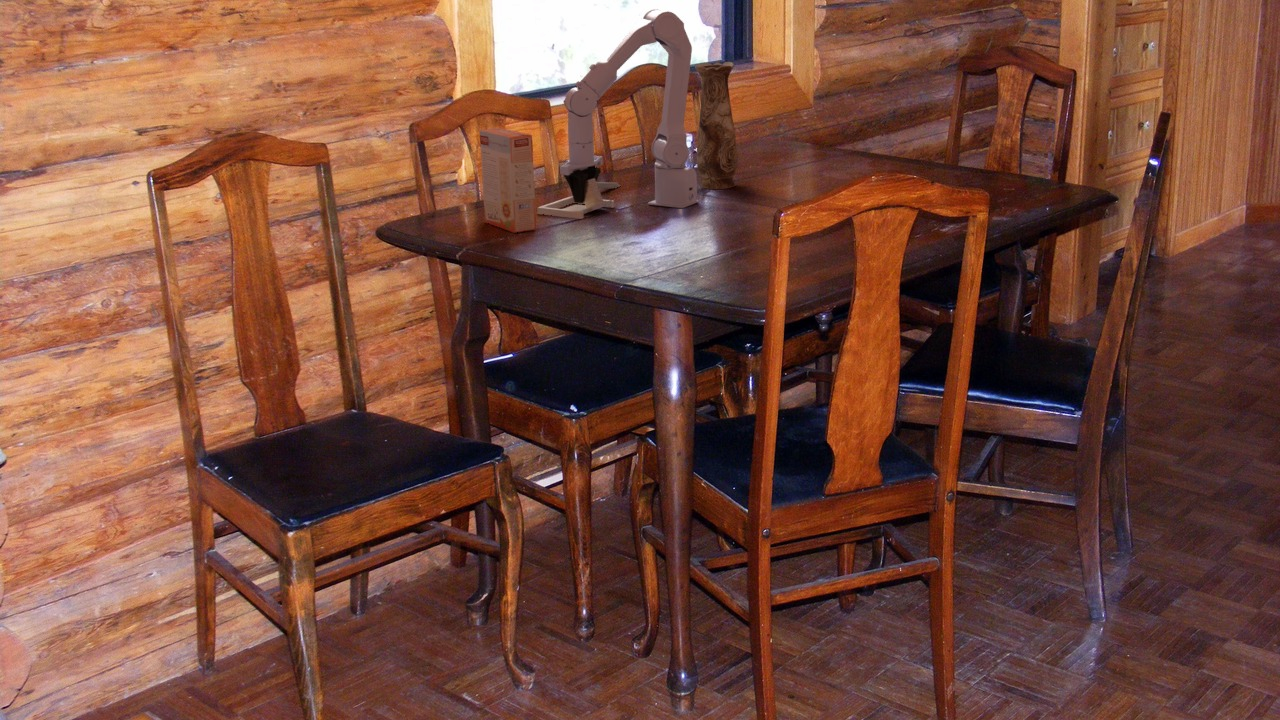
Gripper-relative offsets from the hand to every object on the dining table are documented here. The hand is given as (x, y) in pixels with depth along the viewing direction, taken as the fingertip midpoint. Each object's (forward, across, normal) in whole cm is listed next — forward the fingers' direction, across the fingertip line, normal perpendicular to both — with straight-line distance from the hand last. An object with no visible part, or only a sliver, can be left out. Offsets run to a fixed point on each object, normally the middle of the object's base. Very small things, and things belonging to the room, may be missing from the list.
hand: (583, 201), depth 292 cm
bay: (+2, 0, -2) cm, 3 cm away
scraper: (+2, 0, +4) cm, 4 cm away
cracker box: (+3, +20, -6) cm, 21 cm away
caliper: (+3, -18, -8) cm, 20 cm away
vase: (+3, -39, +14) cm, 42 cm away
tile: (+3, 0, -1) cm, 3 cm away
